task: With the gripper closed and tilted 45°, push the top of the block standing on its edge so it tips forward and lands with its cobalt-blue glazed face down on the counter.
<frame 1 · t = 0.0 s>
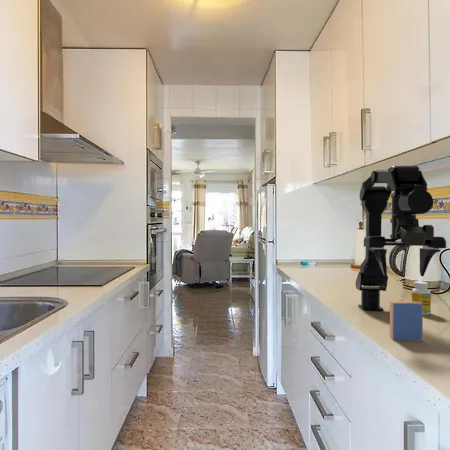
hand: (403, 275, 101), 15 cm above the worktop, tool pointing down, fingers open, 9 cm apart
block: (405, 339, 97), on the worktop
supplement bottle: (421, 313, 124), on the worktop
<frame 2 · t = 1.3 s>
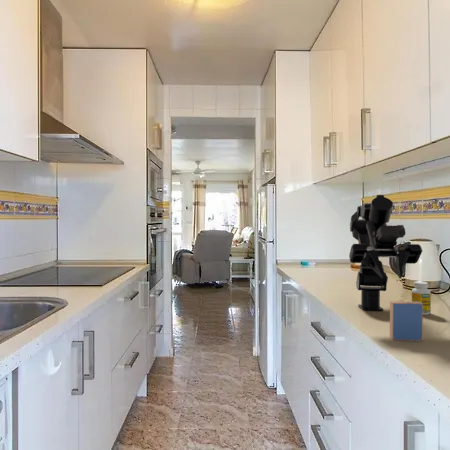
hand: (391, 277, 107), 14 cm above the worktop, tool tilted 45°, fingers open, 4 cm apart
nothing on the worktop moved.
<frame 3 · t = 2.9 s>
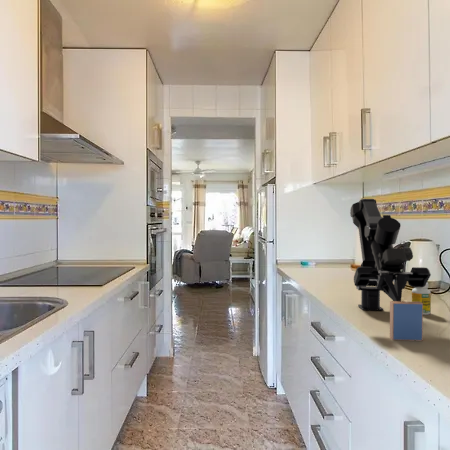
hand: (398, 303, 101), 8 cm above the worktop, tool tilted 45°, fingers closed
nothing on the worktop moved.
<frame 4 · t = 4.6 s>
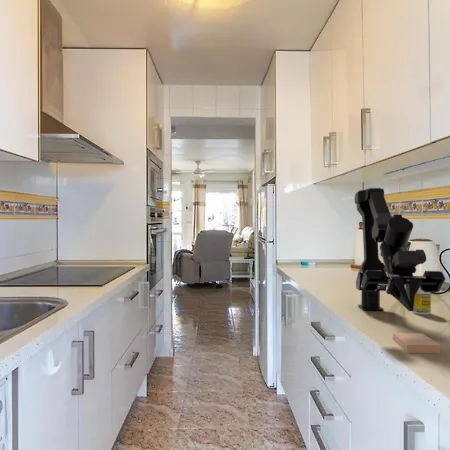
hand: (411, 310, 93), 8 cm above the worktop, tool tilted 45°, fingers closed
block: (407, 337, 95), point 1 cm above the worktop, tilted 90°
everything else where it was.
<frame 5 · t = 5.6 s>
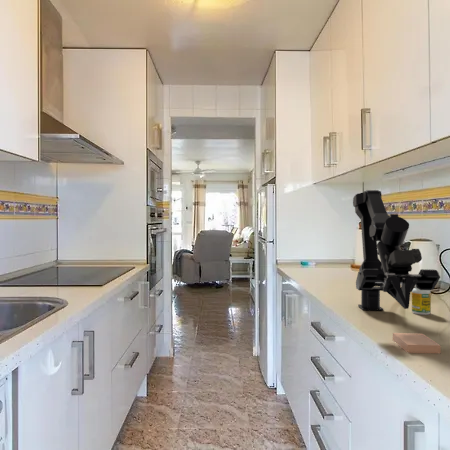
hand: (406, 307, 96), 8 cm above the worktop, tool tilted 45°, fingers closed
nothing on the worktop moved.
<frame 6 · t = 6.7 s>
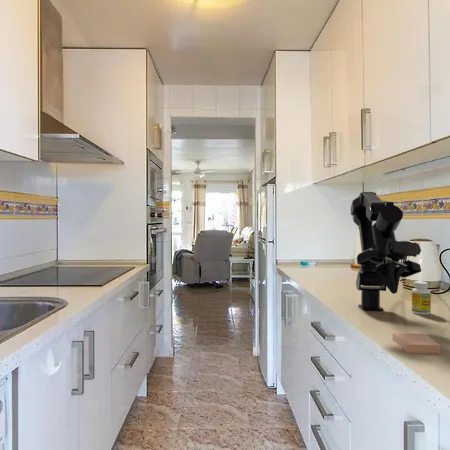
hand: (394, 293, 105), 10 cm above the worktop, tool tilted 30°, fingers closed
nothing on the worktop moved.
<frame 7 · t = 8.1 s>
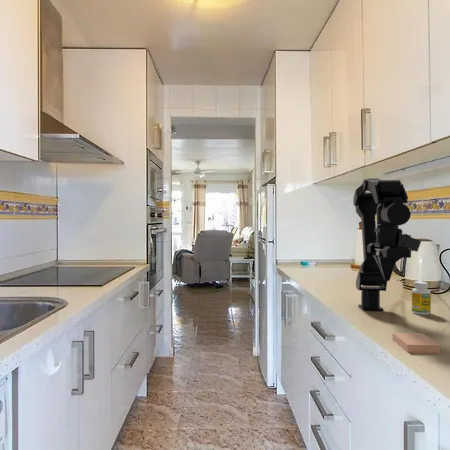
hand: (387, 280, 111), 12 cm above the worktop, tool pointing down, fingers closed
nothing on the worktop moved.
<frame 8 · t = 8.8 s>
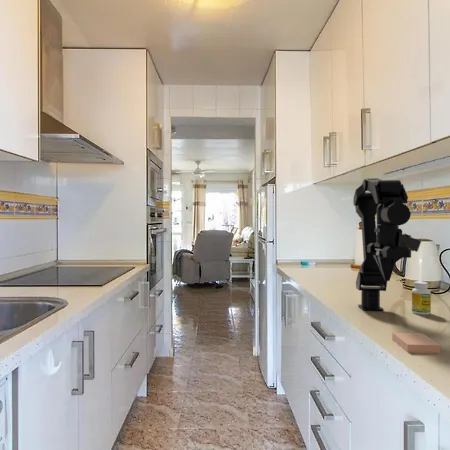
hand: (387, 280, 111), 12 cm above the worktop, tool pointing down, fingers closed
nothing on the worktop moved.
at the end: block tilted 90°; block inside the target area (2.8 cm from its centre), point 0.7 cm above the worktop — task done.
